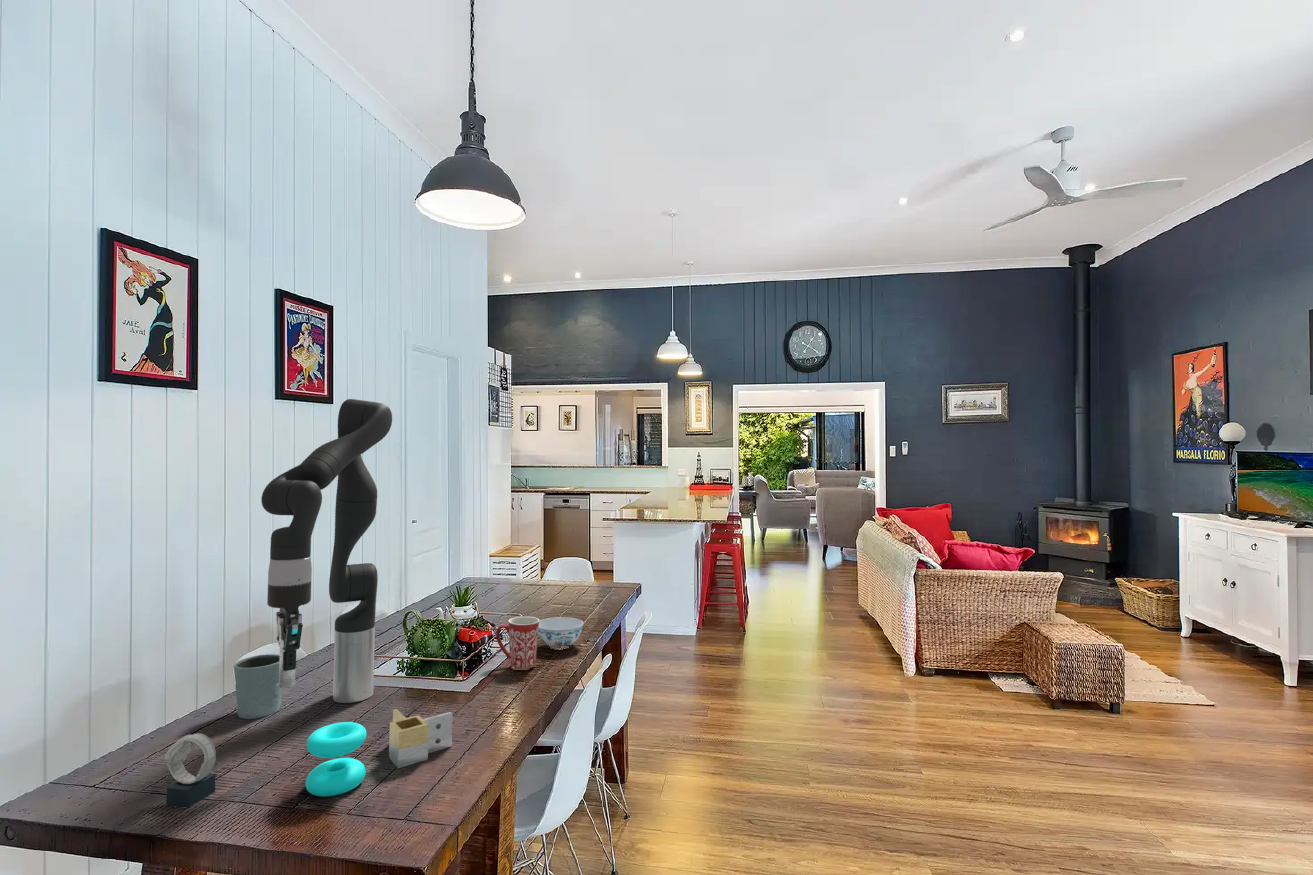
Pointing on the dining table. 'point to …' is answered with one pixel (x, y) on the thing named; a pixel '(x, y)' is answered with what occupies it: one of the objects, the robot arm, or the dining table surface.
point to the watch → (188, 785)
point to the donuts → (340, 771)
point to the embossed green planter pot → (257, 686)
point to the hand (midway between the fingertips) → (287, 667)
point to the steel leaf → (436, 741)
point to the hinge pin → (285, 676)
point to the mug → (520, 641)
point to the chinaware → (559, 630)
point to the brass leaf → (407, 730)
